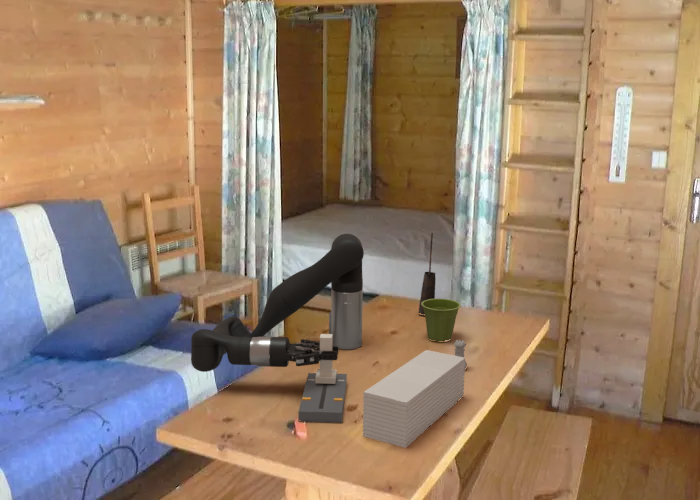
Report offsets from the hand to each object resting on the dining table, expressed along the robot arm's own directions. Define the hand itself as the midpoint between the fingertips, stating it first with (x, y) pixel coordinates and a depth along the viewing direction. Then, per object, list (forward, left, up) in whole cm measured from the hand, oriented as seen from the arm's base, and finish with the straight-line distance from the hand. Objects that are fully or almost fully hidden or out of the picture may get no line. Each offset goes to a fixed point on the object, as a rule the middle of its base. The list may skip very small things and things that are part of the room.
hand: (337, 353), depth 194 cm
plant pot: (-9, +50, -10) cm, 52 cm away
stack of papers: (+24, +4, -10) cm, 26 cm away
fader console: (+3, -7, -10) cm, 12 cm away
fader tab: (-2, -2, -7) cm, 8 cm away
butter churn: (-28, +65, -10) cm, 72 cm away
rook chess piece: (+11, +35, -10) cm, 38 cm away
